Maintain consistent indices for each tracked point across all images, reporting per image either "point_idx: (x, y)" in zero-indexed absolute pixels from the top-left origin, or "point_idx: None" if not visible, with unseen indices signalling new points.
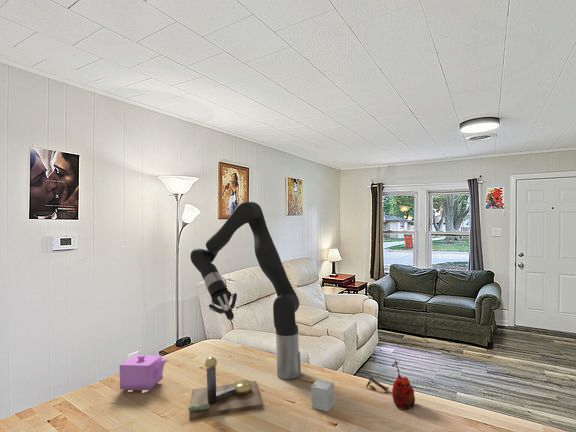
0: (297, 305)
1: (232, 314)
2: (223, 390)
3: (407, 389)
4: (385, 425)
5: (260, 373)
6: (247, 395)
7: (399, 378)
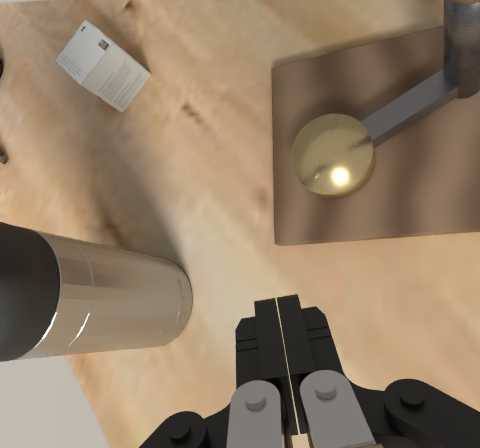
0: None
1: (249, 332)
2: (412, 113)
3: None
4: (51, 5)
5: None
6: None
7: None
